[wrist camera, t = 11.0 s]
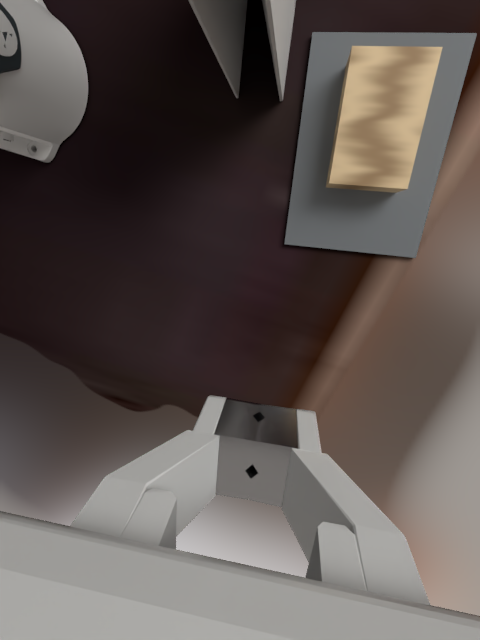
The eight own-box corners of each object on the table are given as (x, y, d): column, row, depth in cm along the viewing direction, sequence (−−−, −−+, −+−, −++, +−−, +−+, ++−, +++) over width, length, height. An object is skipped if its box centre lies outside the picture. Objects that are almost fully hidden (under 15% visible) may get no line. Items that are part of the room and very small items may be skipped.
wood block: (328, 183, 33) (352, 45, 29) (325, 187, 36) (345, 66, 32) (407, 189, 31) (442, 46, 28) (395, 192, 35) (425, 68, 31)
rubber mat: (284, 243, 40) (284, 244, 39) (312, 35, 33) (312, 32, 32) (413, 257, 37) (415, 257, 37) (473, 36, 30) (476, 33, 30)
